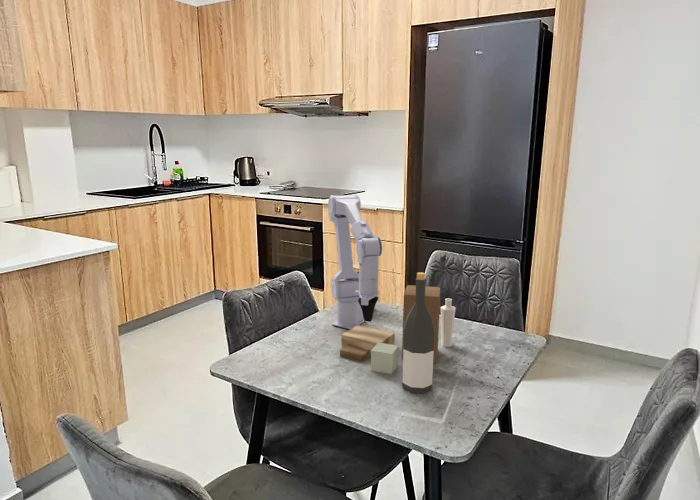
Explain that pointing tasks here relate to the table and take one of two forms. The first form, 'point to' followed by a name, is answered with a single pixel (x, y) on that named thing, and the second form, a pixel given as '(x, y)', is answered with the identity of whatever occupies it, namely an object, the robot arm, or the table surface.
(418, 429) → the table surface
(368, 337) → the oak step
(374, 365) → the sage cube
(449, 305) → the perfume bottle
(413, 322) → the wine bottle
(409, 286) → the wooden block
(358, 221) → the robot arm
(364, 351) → the walnut block
